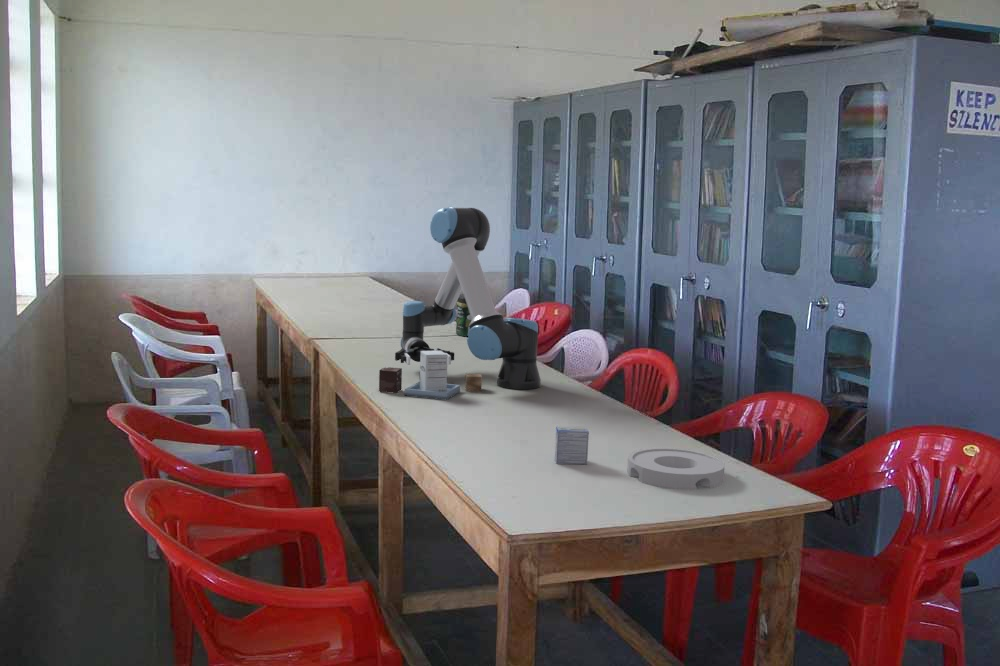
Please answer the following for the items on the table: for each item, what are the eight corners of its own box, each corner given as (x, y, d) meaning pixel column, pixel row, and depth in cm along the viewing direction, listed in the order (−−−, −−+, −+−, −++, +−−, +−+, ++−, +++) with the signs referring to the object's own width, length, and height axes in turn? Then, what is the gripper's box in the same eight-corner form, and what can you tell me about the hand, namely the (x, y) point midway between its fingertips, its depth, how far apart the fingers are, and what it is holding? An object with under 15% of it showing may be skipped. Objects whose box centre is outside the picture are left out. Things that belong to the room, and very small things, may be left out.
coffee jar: (453, 334, 449) (454, 293, 446) (469, 333, 453) (470, 293, 450) (462, 337, 441) (463, 295, 438) (478, 336, 444) (479, 295, 441)
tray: (460, 391, 326) (460, 385, 326) (446, 400, 312) (446, 393, 312) (419, 387, 329) (420, 381, 329) (404, 395, 316) (405, 389, 316)
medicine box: (585, 460, 250) (587, 426, 249) (587, 465, 246) (589, 431, 244) (554, 459, 250) (555, 425, 248) (555, 464, 245) (557, 430, 244)
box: (396, 393, 319) (396, 371, 318) (378, 392, 320) (378, 369, 319) (401, 390, 325) (402, 368, 324) (384, 388, 326) (384, 366, 325)
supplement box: (418, 388, 323) (419, 350, 321) (440, 387, 326) (441, 350, 324) (424, 393, 316) (425, 354, 314) (447, 392, 319) (448, 354, 317)
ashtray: (714, 496, 225) (716, 479, 225) (616, 482, 234) (617, 465, 233) (730, 471, 247) (731, 455, 246) (639, 458, 255) (640, 443, 254)
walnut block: (480, 388, 333) (480, 374, 332) (481, 391, 328) (481, 376, 327) (465, 388, 332) (465, 373, 331) (466, 391, 327) (466, 376, 326)
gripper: (452, 359, 350) (465, 371, 330) (381, 360, 344) (391, 372, 323) (452, 338, 349) (466, 349, 329) (382, 339, 342) (392, 349, 322)
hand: (429, 360), depth 326 cm, fingers open, 13 cm apart
